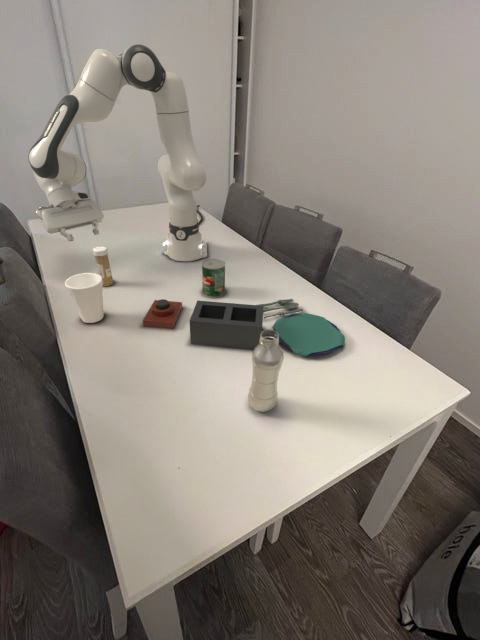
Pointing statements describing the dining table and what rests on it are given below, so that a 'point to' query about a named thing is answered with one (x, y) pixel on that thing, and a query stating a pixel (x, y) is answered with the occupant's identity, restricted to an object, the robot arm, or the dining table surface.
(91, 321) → the cup
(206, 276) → the canned tomato
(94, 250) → the sprinkles bottle
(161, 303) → the button
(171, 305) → the button block
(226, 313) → the dark grey hollow block
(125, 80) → the robot arm
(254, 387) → the plastic bottle
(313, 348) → the cutlery set
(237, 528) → the dining table surface
